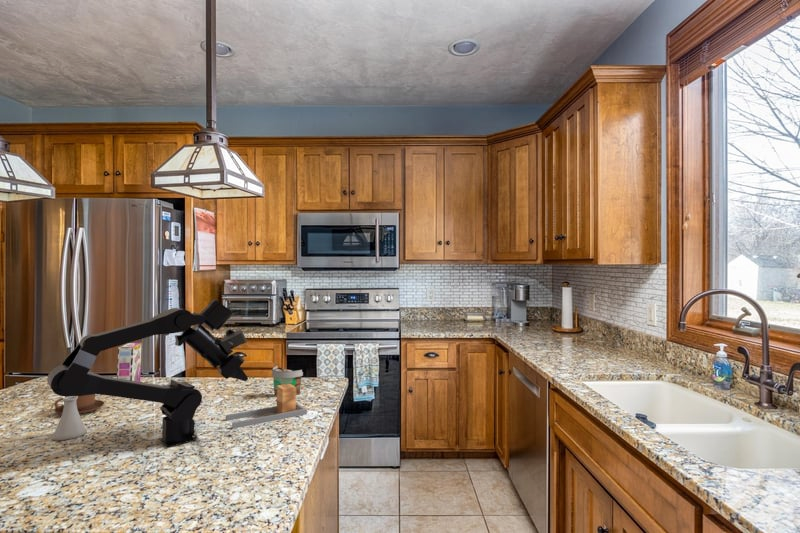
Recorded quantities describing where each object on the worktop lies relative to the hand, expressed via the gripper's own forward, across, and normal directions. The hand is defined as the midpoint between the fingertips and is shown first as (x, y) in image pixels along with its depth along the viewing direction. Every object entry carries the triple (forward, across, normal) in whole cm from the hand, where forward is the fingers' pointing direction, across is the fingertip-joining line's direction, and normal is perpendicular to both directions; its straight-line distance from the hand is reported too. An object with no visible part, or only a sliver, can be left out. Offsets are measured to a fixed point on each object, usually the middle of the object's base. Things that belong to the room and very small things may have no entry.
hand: (246, 379), depth 118 cm
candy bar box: (-8, +60, +28) cm, 67 cm away
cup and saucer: (-18, +40, +37) cm, 58 cm away
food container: (+22, +20, -3) cm, 30 cm away
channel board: (+14, 0, +5) cm, 14 cm away
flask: (-19, +18, +38) cm, 46 cm away
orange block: (+16, 0, 0) cm, 16 cm away
